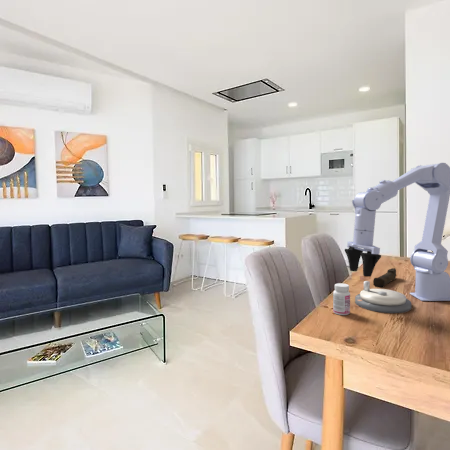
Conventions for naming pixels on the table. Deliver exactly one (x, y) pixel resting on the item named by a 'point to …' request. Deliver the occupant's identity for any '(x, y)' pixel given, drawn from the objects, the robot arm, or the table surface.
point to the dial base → (383, 306)
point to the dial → (381, 296)
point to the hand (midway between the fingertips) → (360, 273)
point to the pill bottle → (341, 299)
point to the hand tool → (385, 278)
